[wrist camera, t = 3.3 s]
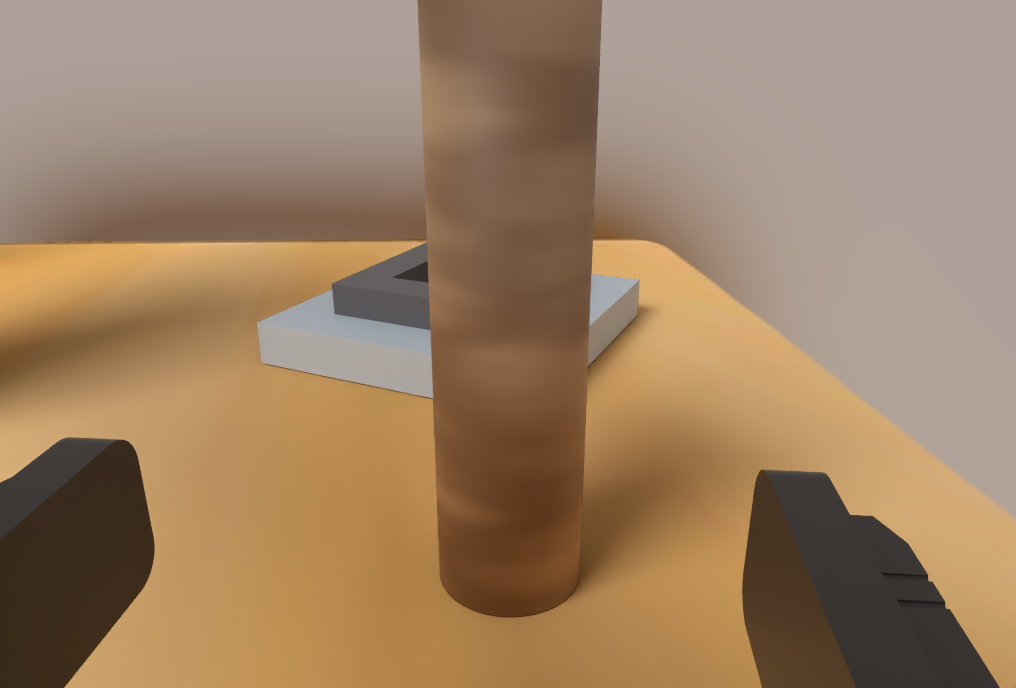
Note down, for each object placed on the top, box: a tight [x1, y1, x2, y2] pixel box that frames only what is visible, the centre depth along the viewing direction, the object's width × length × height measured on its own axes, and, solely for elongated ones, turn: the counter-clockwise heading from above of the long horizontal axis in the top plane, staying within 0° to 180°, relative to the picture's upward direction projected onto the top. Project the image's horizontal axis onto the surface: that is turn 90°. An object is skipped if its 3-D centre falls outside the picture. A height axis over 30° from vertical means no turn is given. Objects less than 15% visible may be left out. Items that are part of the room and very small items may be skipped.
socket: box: [257, 243, 639, 398], centre depth 39 cm, size 14×14×4 cm
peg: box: [418, 0, 602, 617], centre depth 20 cm, size 4×4×15 cm
